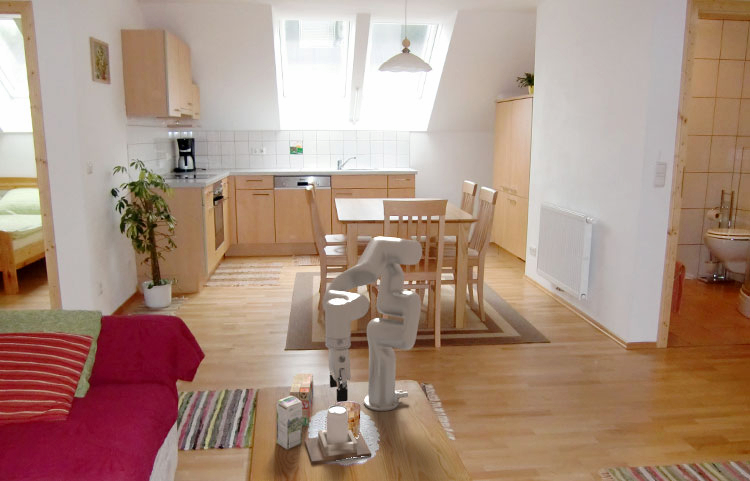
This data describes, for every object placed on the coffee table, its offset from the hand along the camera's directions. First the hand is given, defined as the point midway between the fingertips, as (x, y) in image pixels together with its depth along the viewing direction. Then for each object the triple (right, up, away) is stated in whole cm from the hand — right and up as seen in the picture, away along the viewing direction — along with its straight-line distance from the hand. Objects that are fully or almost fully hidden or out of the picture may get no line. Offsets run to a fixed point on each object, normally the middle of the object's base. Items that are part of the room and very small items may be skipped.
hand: (338, 393), depth 176 cm
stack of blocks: (-14, -13, +27) cm, 33 cm away
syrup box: (-16, -17, +5) cm, 24 cm away
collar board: (-1, -18, +3) cm, 18 cm away
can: (-1, -17, +3) cm, 17 cm away
